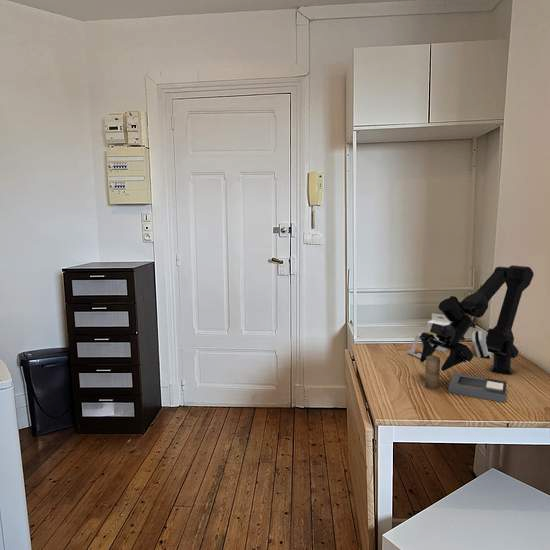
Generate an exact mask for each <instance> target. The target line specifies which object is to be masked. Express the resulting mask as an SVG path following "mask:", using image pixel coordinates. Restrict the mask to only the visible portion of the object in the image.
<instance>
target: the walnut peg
mask: <svg viewBox="0 0 550 550" xmlns="http://www.w3.org/2000/svg"><path fill="white" fill-rule="evenodd" d="M440 371H441V358H440V357H439V356H436V355H433V356H432V355H430V356H427V357H426V360H425V375H424V376H425V377H424V379H425V380H424V381H425V382H424V386H425V388H426V389H429V390H438V389H439V388H440V373H441V372H440Z"/></svg>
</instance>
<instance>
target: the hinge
mask: <svg viewBox="0 0 550 550" xmlns="http://www.w3.org/2000/svg"><path fill="white" fill-rule="evenodd" d="M486 337H487V335H486V334H485V331H484V330H483V329H482V330H478V331H477V330H475V331H473V332H472V335H471V341H472V344H473V347H474V350H475V354H476V357H477V358H482V357H484V358H486V357H488V356H489V359H491V360H492V357H493V353H491V352H488V349H487V345H486Z"/></svg>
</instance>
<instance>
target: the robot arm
mask: <svg viewBox="0 0 550 550" xmlns="http://www.w3.org/2000/svg"><path fill="white" fill-rule="evenodd" d="M534 274H535V273H534V271H533V269H532V267H530V266H522V265H516V264H515V265H514V264H513V265H510V266H497V267H495V269H494V271H493V273H492V274H491V275H490V276H489V277H488V278H487V280H486V281H485V282H484V283H483V284H482V285H481V286H480V287H479V289H478V290H477V291H475V292H474V293H471V294H469V295H467V296H466V297H464V298H463V300H461V301H460V300H459V298H458V297H457V296H454V295H451V296H450V297H448V298H445V299H443V300H442V301H440V302H439V304H438V309H439V311H440V312H441V313H442V315H444V316H445V317H446V318H447V319H448V320H449V321H450V324H449V325H445V326H441V325H438V324H434V323H433V324H432V327H431V329H430V332H431V333H435V334H437V335H436V337H437V338H439V340H437V339H436V338H435V337H434V336H433V334H429V333H427V331H424V332H422V333H420V334H421V336H420V338H421V341H422V342H423V347H422V351H421V354H422V355H421V359H420V358H419V361H420V363H424V362H426V357H427V356H432V355H431V354H432V353H433V354H434V353H435V352H436V351H437V350H435V348H437V347H438V346H440V347H443V348H446V349H448V350H449V355H448V357H447V358H446V360H445V361H444V363H443V364H442V367H440V371H442V372H444V371H447V370H449V369H451V368H452V367H454V366H456V365H457V366H458V365H459V364H462V363H467V362H471V361H472V360H473V358H474V353H473V351H472V350H471V349H470V348H469V347H468V345H467V344H463V343H461V341H463V342H464V341H465V339H466V337H464V336H465V335H466V334H467V332H468V330H470V328H473V329H476V328H477V326H476V320H475V319H472V318H471V317H473V318H477V319H478V318H482V317H483V316H484V315H485V313H486V311H487V310H488V308H489V302H490V301H491V299H492V298H493V297H494V296H495V294H496V293H497V292H498V291H499V290H500V289H501V287H503V285H504V284H505V285H506V291H505V295H504V298H503V301H502V304H501V307H500V311H499V314H498V319H497V321H496V322H497V323H496V325H495V326H494V327H493V328H489V329H488V331H487V333H486V345H487V349H488V352H491V353H492V354H493V355H492V357H493V360H492V365H491V368H490V371H491V372H494V373H500V374H507V375H508V374H509V375H512V372H513V371H512V369H513V368H512V359H515V358H517V357H518V356H519V352H520V351H519V349H518V347H516V346H515V344H514V342H515V341H514V340H515V337H514V333H513V331H512V329H513V325H514V322H515V318H516V315H517V312H518V308H519V305H520V301H521V299H522V298H521V297H522V295H523V292H524V290H526V289H527V288H528V287H529V286H530V284H531V283H532V280H533V278H534V276H535V275H534ZM421 341H420V342H421ZM448 350H447V351H448Z"/></svg>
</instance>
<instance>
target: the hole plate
mask: <svg viewBox="0 0 550 550" xmlns="http://www.w3.org/2000/svg"><path fill="white" fill-rule="evenodd" d="M448 392H449V394H455V395H461V396H466V397H472V398H476V399H477V398H478V399H482V400H487V401H494V402H499V403H506V396H507V395H506V393H507V380H506V381H505V380H500V379H492V378H487V377H481V376H474V375H467V374H461V373H456V372H454V373H453V374H452V377H451V379H450V382H449V384H448Z"/></svg>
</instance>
